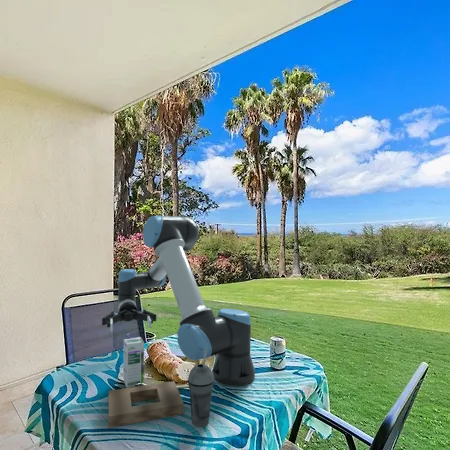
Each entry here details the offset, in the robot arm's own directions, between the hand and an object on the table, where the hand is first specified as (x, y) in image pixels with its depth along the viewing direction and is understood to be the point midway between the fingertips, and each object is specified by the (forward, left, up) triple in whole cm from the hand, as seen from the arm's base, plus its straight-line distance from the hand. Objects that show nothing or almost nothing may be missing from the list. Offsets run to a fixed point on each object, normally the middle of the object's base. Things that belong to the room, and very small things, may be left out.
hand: (131, 326), depth 121 cm
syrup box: (-6, +8, -16) cm, 19 cm away
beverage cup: (-35, +22, -16) cm, 44 cm away
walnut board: (-17, +20, -16) cm, 31 cm away
